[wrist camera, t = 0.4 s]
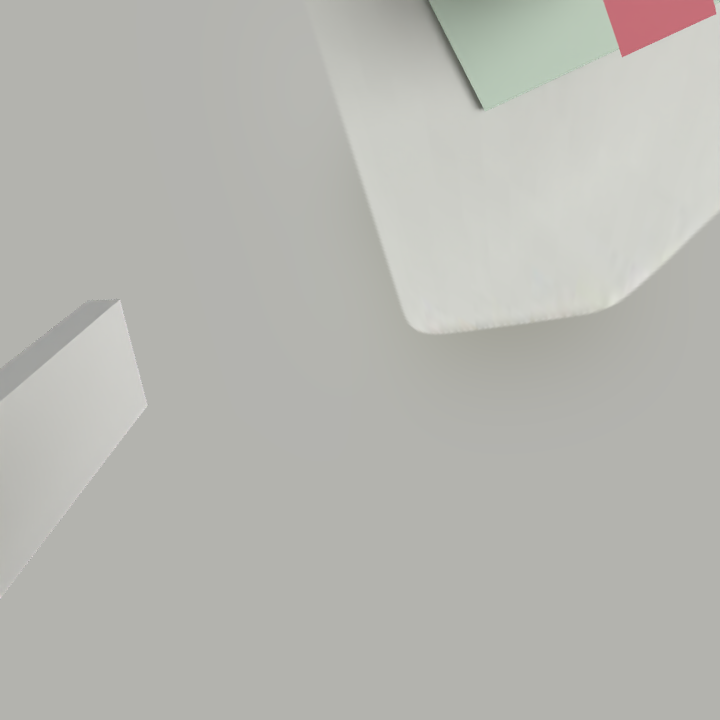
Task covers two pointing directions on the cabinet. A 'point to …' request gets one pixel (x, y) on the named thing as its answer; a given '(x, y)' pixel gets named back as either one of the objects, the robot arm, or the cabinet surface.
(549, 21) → the mat
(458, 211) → the cabinet surface
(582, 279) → the cabinet surface
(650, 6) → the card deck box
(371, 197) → the cabinet surface
